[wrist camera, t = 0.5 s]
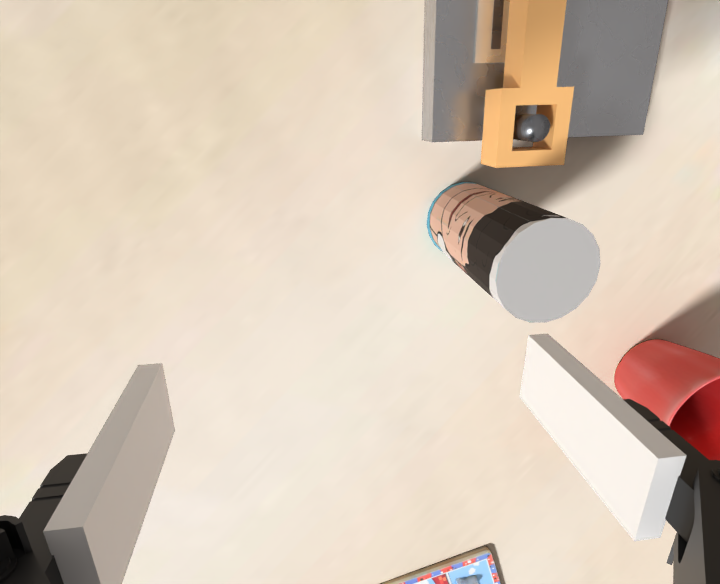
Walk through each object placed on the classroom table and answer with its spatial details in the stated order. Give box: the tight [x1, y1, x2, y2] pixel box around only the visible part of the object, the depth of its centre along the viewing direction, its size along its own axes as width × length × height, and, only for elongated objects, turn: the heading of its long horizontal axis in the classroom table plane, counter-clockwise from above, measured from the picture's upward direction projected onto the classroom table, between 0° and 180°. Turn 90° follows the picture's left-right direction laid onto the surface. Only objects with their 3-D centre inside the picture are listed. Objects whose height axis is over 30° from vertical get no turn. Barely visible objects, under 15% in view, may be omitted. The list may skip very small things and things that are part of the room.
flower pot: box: [614, 339, 720, 461], centre depth 47 cm, size 11×11×10 cm
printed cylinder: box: [427, 182, 600, 322], centre depth 35 cm, size 7×7×15 cm
